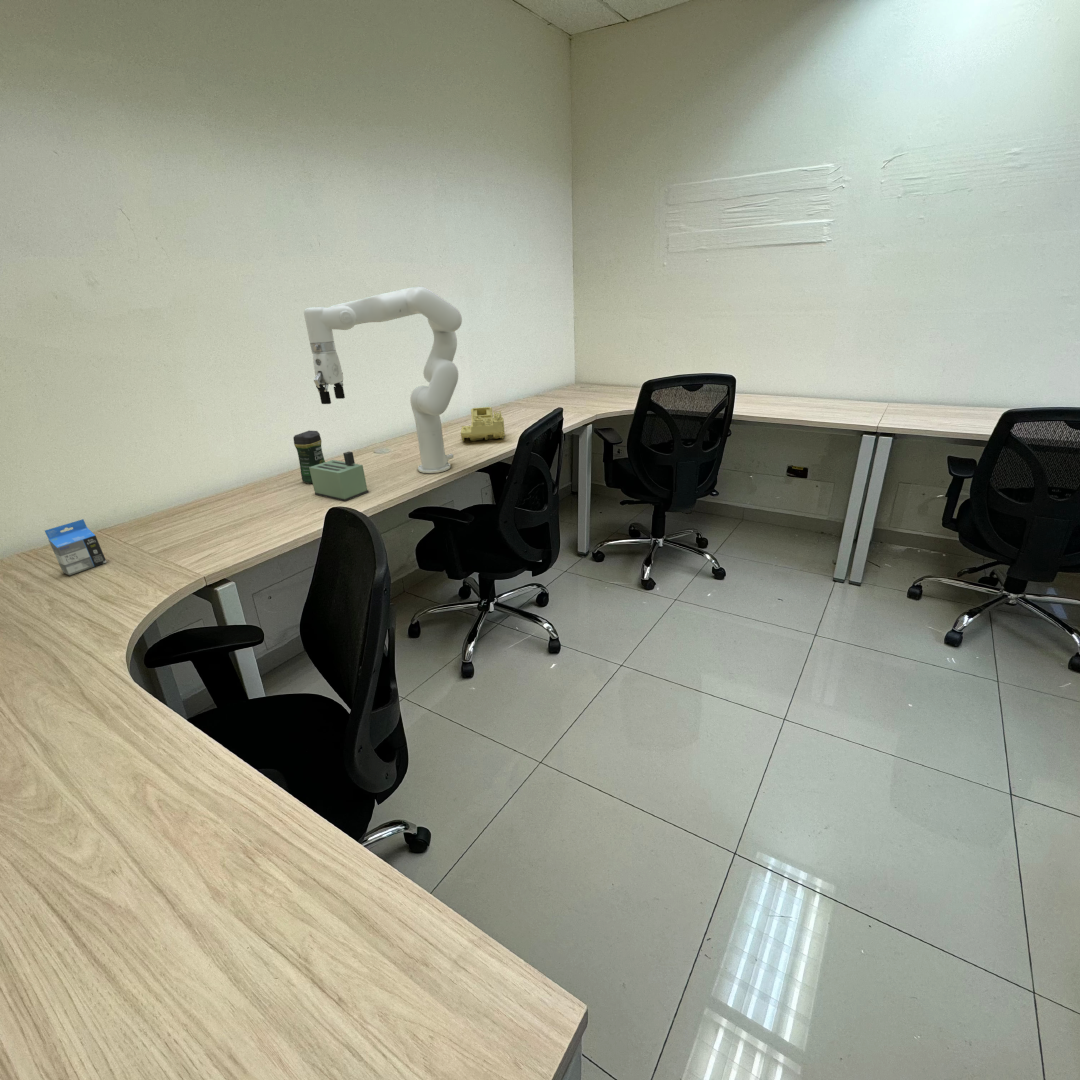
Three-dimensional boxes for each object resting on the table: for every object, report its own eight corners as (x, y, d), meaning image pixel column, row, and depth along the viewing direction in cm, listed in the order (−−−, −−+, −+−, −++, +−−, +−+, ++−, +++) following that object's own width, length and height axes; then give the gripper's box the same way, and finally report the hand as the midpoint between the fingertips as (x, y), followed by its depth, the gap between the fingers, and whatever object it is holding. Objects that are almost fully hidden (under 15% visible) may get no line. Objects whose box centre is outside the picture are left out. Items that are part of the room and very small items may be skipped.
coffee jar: (316, 484, 205) (305, 435, 197) (299, 483, 207) (287, 434, 200) (333, 476, 213) (323, 429, 205) (316, 475, 216) (305, 428, 208)
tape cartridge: (69, 576, 144) (49, 533, 139) (63, 573, 146) (43, 530, 141) (107, 562, 151) (89, 521, 146) (101, 559, 153) (83, 518, 148)
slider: (351, 462, 192) (348, 451, 190) (354, 463, 191) (352, 452, 189) (345, 464, 190) (343, 453, 188) (349, 465, 189) (347, 453, 187)
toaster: (338, 485, 202) (332, 459, 198) (368, 492, 194) (362, 464, 190) (315, 494, 195) (308, 467, 191) (345, 501, 187) (339, 472, 182)
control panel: (456, 405, 259) (498, 398, 261) (463, 436, 268) (503, 428, 269) (458, 424, 240) (503, 416, 241) (465, 456, 249) (508, 448, 250)
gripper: (320, 350, 172) (331, 405, 179) (346, 345, 187) (355, 396, 194) (298, 351, 173) (310, 406, 180) (325, 345, 188) (335, 396, 195)
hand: (333, 401), depth 187 cm, fingers open, 9 cm apart
